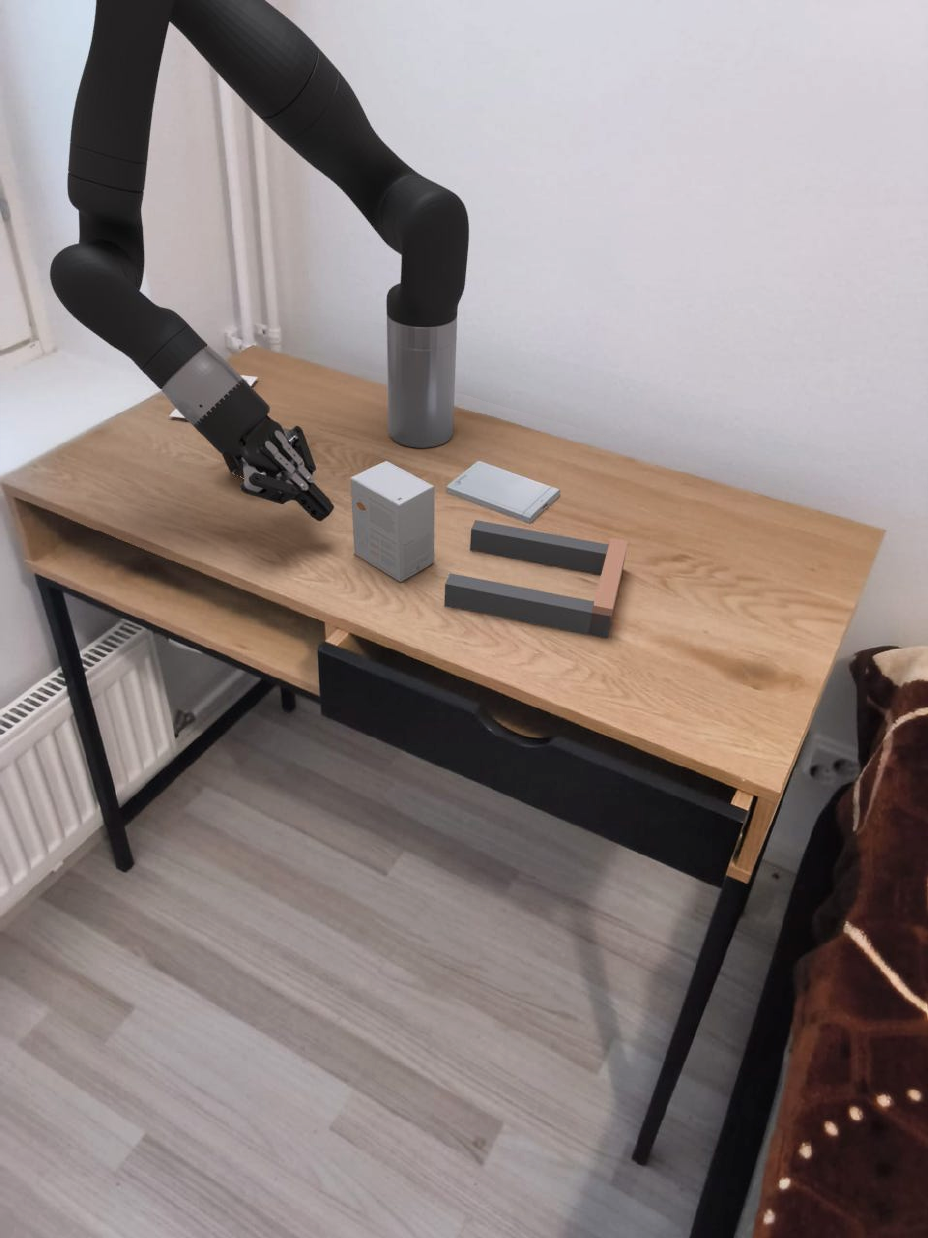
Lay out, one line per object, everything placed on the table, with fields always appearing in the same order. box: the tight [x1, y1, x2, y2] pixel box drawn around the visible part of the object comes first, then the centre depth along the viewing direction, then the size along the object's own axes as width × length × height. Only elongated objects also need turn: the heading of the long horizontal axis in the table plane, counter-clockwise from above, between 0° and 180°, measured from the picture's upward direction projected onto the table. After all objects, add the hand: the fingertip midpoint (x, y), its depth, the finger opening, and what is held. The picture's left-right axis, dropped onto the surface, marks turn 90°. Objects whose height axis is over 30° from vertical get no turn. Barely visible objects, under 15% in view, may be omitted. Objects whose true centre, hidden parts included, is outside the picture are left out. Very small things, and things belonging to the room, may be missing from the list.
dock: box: [443, 519, 629, 639], centre depth 103 cm, size 13×18×4 cm
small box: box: [349, 460, 436, 583], centre depth 103 cm, size 8×6×10 cm
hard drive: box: [445, 460, 561, 524], centre depth 119 cm, size 2×8×12 cm
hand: (327, 514), depth 105 cm, fingers closed
